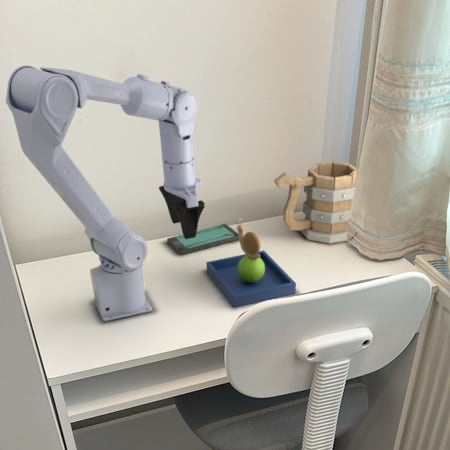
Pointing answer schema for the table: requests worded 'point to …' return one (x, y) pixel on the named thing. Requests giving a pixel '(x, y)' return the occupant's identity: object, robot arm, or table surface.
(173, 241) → the smartphone
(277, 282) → the tray
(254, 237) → the snail figurine
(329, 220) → the tankard
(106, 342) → the table surface
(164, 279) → the table surface
